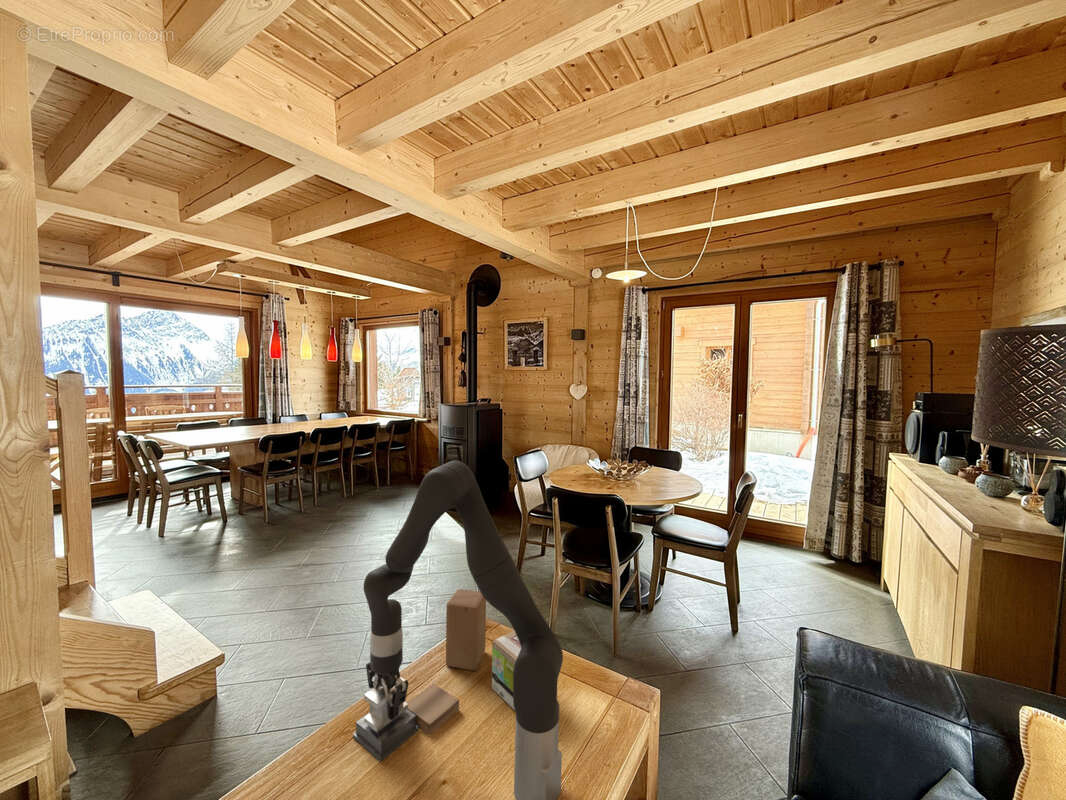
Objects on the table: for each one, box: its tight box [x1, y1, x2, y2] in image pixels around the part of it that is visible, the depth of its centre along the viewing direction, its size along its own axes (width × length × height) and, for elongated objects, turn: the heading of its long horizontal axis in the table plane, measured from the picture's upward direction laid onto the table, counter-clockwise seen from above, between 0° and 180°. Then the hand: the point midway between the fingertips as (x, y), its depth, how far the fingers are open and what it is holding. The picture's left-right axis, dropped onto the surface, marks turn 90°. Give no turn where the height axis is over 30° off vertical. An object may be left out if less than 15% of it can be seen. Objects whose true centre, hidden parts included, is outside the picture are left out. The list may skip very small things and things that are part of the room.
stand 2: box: [407, 682, 460, 737], centre depth 113 cm, size 10×10×3 cm
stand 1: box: [352, 709, 420, 763], centre depth 106 cm, size 11×11×4 cm
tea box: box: [491, 629, 521, 711], centre depth 119 cm, size 15×10×15 cm, turn 42°
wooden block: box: [445, 588, 487, 671], centre depth 134 cm, size 10×10×20 cm
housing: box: [363, 676, 408, 732], centre depth 105 cm, size 9×5×7 cm, turn 145°
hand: (386, 711), depth 106 cm, fingers closed on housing, 5 cm apart
